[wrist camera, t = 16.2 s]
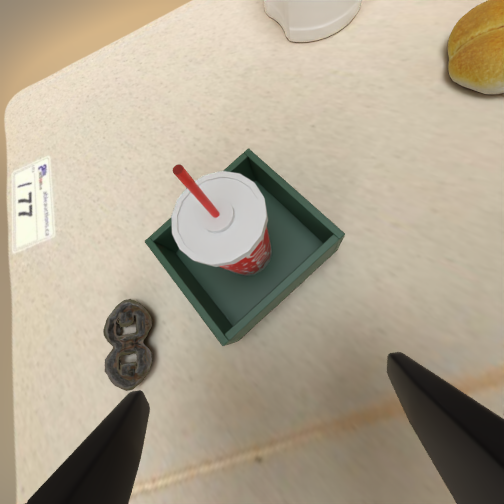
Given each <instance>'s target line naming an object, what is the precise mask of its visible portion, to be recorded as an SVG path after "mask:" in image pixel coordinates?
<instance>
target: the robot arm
mask: <svg viewBox="0 0 504 504" xmlns="http://www.w3.org/2000/svg"><path fill="white" fill-rule="evenodd" d="M387 373H388V377H389V379H390V381H391V383H392V385H393V387H394V390H395V392H396V394H397V396H398V398H399V400H400V403H401V405H402V407H403V409H404V411H405V413H406V416H407V418H408V420H409V422H410V424H411V425H412V427H413V429H414V431H415V433H416V434H417V436H418V438H419V439H420V441H421V443H422V445H423V446H424V448H425V450H426V451H427V453H428V455H429V457H430V458H431V460H432V462H433V464H434V465H435V467H436V469H437V470H438V472H439V474H440V476H441V477H442V479H443V481H444V482H445V484H446V486H447V488H448V489H449V491H450V493H451V494H452V496H453V498H454V500H455V501H456V503H457V504H504V419H503V418H501V417H500V416H498V415H497V414H495V413H493V412H492V411H490V410H489V409H487V408H486V407H484V406H483V405H481V404H480V403H478V402H477V401H475V400H474V399H472V398H471V397H469V396H467V395H466V394H464V393H463V392H461V391H460V390H458V389H457V388H455V387H454V386H452V385H451V384H449V383H448V382H446V381H444V380H443V379H441V378H440V377H438V376H437V375H435V374H434V373H432V372H431V371H429V370H428V369H426V368H425V367H423V366H422V365H420V364H418V363H417V362H415V361H414V360H412V359H411V358H409V357H408V356H406V355H405V354H403V353H401V352H395V353H390V354H388V360H387ZM149 412H150V407H149V403H148V401H147V399H146V397H145V395H144V393H143V392H142V391H140V390H139V391H133V392H130V393H129V394H127V396H126V397H125V398H124V399H123V400H122V401H121V402H120V403H119V404H118V405H117V406H116V407H115V408H114V409H113V410H112V412H111V413H110V414H109V415H108V416H107V417H106V418H105V419H104V420H103V421H102V422H101V423H100V424H99V425H98V426H97V427H96V429H95V430H94V431H93V432H92V433H91V434H90V435H89V436H88V437H87V438H86V439H85V440H84V441H83V442H82V443H81V445H80V446H79V447H78V448H77V449H76V450H75V451H74V452H73V453H72V454H71V455H70V456H69V457H68V458H67V459H66V461H65V462H64V463H63V464H62V465H61V466H60V467H59V468H58V469H57V470H56V471H55V472H54V473H53V474H52V475H51V476H50V478H49V479H48V480H47V481H46V482H45V483H44V484H43V485H42V486H41V487H40V488H39V489H38V490H37V491H36V492H35V494H34V495H33V496H32V497H31V498H30V499H29V500H28V502H27V503H25V504H128V503H129V499H130V495H131V492H132V488H133V485H134V481H135V478H136V474H137V470H138V467H139V463H140V459H141V454H142V449H143V444H144V439H145V433H146V428H147V423H148V417H149Z"/></svg>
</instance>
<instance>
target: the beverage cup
mask: <svg viewBox="0 0 504 504" xmlns="http://www.w3.org/2000/svg"><path fill="white" fill-rule="evenodd" d="M173 173H174V174H175V175H176V176H177V177H178V179H179V180H180V181H181V182H182V183H183V184H184V185H185V186H186V187H187V188H186V189H185V190H184V191H183V193H182V194H181V195H180V196H179V198H178V199H177V202H176V204H175V207H174V210H173V213H172V215H171V218H172V235H173V237H174V239H175V241H176V243H177V245H178V247H179V249H180V250H181V251H182V252H184V253H185V254H186V255H187V256H188V257H190V258H191V259H192V260H194V261H196V262H198V263H202V264H206V265H210V266H214V267H218V266H219V267H221V268H224V269H226V270H229V271H231V272H234V273H236V274H240V275H244V276H250V275H256V274H257V273H259V272H261V271H262V270H264V269H265V267H266V266H267V265H268V263H269V262H270V258H271V255H272V249H271V243H270V238H269V234H268V229H267V222H268V217H267V210H266V203H265V198H264V196H263V195H262V193H261V192H260V190H259V189H258V187H257V186H256V184H255V183H254V182H253V181H251V180H249V179H248V178H246V177H245V176H243V175H241V174H239V173H233V172H226V171H220V172H216V173H211V174H206V175H204V176H202V177H201V178H199V179H197V180H196V181H194V180H193V179H192V177H191V176H190V175H189V174H188V172H187V171H186V170H185V169H184V167H183V166H182V165H176V166H175V167H174V168H173Z"/></svg>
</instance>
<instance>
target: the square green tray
mask: <svg viewBox="0 0 504 504" xmlns="http://www.w3.org/2000/svg"><path fill="white" fill-rule="evenodd" d="M224 171H226V172H233V173H239V174H241V175H243V176H245V177H246V178H248V179H249V180H251V181H253V182H254V183H255V184H256V186H257V187H258V189H259V190H260V192H261V193H262V195H263V196H264V198H265V203H266V210H267V217H268V222H267V229H268V234H269V238H270V243H271V249H272V255H271V258H270V262H269V263H268V265H267V266H266V267H265V269H264V270H262V271H261V272H259V273H257V274H256V275H250V276H244V275H240V274H236V273H234V272H231V271H229V270H226V269H224V268H221V267H219V266H218V267H214V266H210V265H206V264H202V263H198V262H196V261H194V260H192V259H191V258H190V257H188V256H187V255H186V254H185V253H184V252H182V251H181V250H180V249H179V247H178V245H177V243H176V241H175V239H174V237H173V235H172V218H170V219H169V220H168V221H167V222H166V223H164V224H163V225H162V226H161V227H160V228H159V229H158V230H157V231H156V232H154V233H153V234H152V235H151V236H150V237H149V238H148V239H147V240H145V243H146V244H147V245H148V247H149V248H150V249H151V251H152V252H153V253H154V255H155V256H156V257H157V259H158V260H159V261H160V263H161V264H162V265H163V267H164V268H165V270H166V271H167V272H168V274H169V275H170V276H171V278H172V279H173V280H174V282H175V283H176V284H177V286H178V287H179V288H180V290H181V291H182V292H183V294H184V295H185V296H186V298H187V299H188V300H189V302H190V303H191V304H192V306H193V307H194V308H195V310H196V311H197V312H198V314H199V315H200V316H201V318H202V319H203V320H204V322H205V323H206V324H207V326H208V327H209V328H210V330H211V331H212V332H213V334H214V335H215V337H216V338H217V339H218V341H219V342H220V343H221V345H222V346H225V345H228V344H231V343H234V342H237V341H239V340H240V339H241V338H242V337H243V336H244V335H245V334H246V333H248V332H249V331H250V330H251V329H252V328H253V327H254V326H255V325H256V324H257V323H258V322H260V321H261V320H262V319H263V318H264V317H265V316H266V315H267V314H268V313H269V312H270V311H271V310H273V309H274V308H275V307H276V306H277V305H278V304H279V303H280V302H281V301H282V300H283V299H285V298H286V297H287V296H288V295H289V294H290V293H291V292H292V291H293V290H294V289H295V288H296V287H298V286H299V285H300V284H301V283H302V282H303V281H304V280H305V279H306V278H307V277H308V276H309V275H311V274H312V273H313V272H314V271H315V270H316V269H317V268H318V267H319V266H320V265H321V264H323V263H324V262H325V261H326V260H327V259H328V258H329V257H330V256H331V255H332V254H333V253H334V252H336V251H337V250H338V247H339V245H340V243H341V241H342V239H343V237H344V235H345V233H344V232H343V231H341V230H340V229H339V228H338V227H337V226H336V225H335V224H333V223H332V222H331V221H330V220H329V219H328V218H327V217H326V216H324V215H323V214H322V213H321V212H320V211H319V210H318V209H317V208H315V207H314V206H313V205H312V204H311V203H310V202H309V201H307V200H306V199H305V198H304V197H303V196H302V195H301V194H300V193H298V192H297V191H296V190H295V189H294V188H293V187H292V186H291V185H289V184H288V183H287V182H286V181H285V180H284V179H283V178H281V177H280V176H279V175H278V174H277V173H276V172H275V171H274V170H272V169H271V168H270V167H269V166H268V165H267V164H266V163H265V162H263V161H262V160H261V159H260V158H259V157H258V156H257V155H255V154H254V153H253V152H252V151H251V150H250V149H247V150H246V151H245V152H244V153H243V154H242V155H240V156H239V157H238V158H237V159H236V160H235V161H234V162H233V163H231V164H230V165H229V166H228V167H227V168H226V169H225V170H224Z"/></svg>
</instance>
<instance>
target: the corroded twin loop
mask: <svg viewBox="0 0 504 504" xmlns="http://www.w3.org/2000/svg"><path fill="white" fill-rule="evenodd" d="M135 316H136V333H133V334H127V335H122V336H120V333H121V329H120V327H128V326H130V325H132V324H133V321H134V320H135ZM118 319H119V324H117V320H118ZM151 328H152V318H151V316H150V314H149V313H148V312H147V310H146V309H145V308H144V307H143V306H142V305H141V304H140V303H138V302H136V301H134V300H131V299H129V300H124V301H122V302H121V303H120V304H118V305H117V306H116V307H115V309H114V310H113V311H112V313H111V314H110V315H109V317H108V318H107V320H106V324H105V327H104V336H105V338H106V339H107V341H108V342H109V343H110V344H111V345H112V346H113V349H112V351H111V352H110V354H109V355H108V356H107V358H106V359H105V372H106V374H107V375H108V377H109V379H110V380H111V382H112V383H113V384H114V385H115V386H117V387H119V388H121V389H124V390H126V391H128V390H133V389H134V388H135V387H136V386H138V385H139V384H140V383H141V382H142V381H143V380H144V378H145V377H146V375H147V374H148V372H149V369H150V367H151V365H152V353H151V351H150V350H149V348H148V347H147V346H146V345H145V344H144V343H143V341H144V339H145V338H146V337H147V335H148V333H149V330H150V329H151ZM132 353H135V354H136V355H137V365H136V362H131V363H126V364H122V365H120V363H121V361H120V356H122V355H129V354H132Z"/></svg>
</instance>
